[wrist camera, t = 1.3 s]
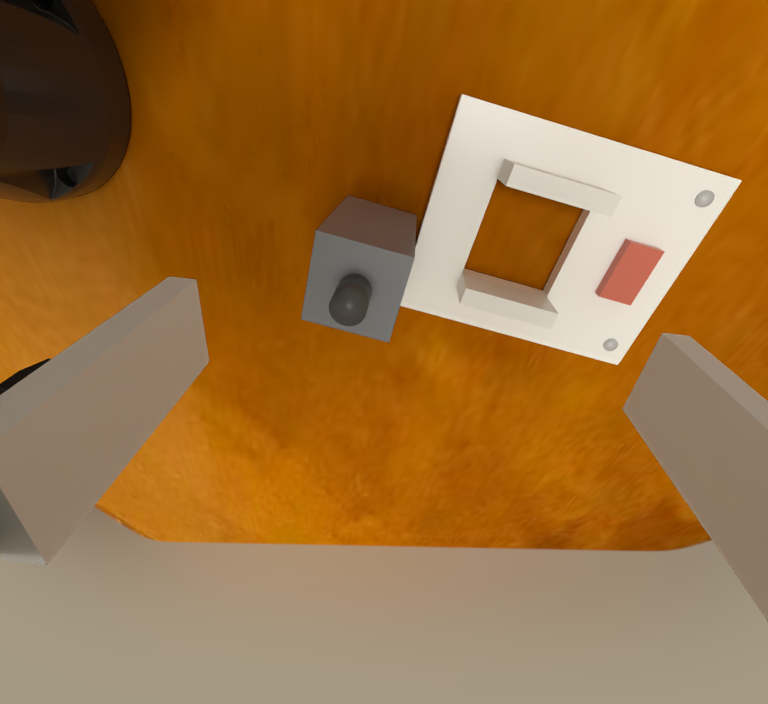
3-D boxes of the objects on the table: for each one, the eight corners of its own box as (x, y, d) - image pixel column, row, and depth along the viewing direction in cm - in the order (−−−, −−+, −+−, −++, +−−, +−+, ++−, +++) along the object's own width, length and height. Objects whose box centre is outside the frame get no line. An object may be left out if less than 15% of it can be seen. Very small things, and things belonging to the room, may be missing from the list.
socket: (398, 298, 32) (395, 322, 28) (460, 95, 25) (467, 91, 21) (611, 357, 33) (634, 387, 29) (729, 177, 26) (779, 188, 22)
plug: (334, 262, 31) (288, 340, 20) (348, 195, 28) (303, 243, 18) (397, 279, 31) (385, 365, 20) (416, 214, 29) (414, 274, 18)
